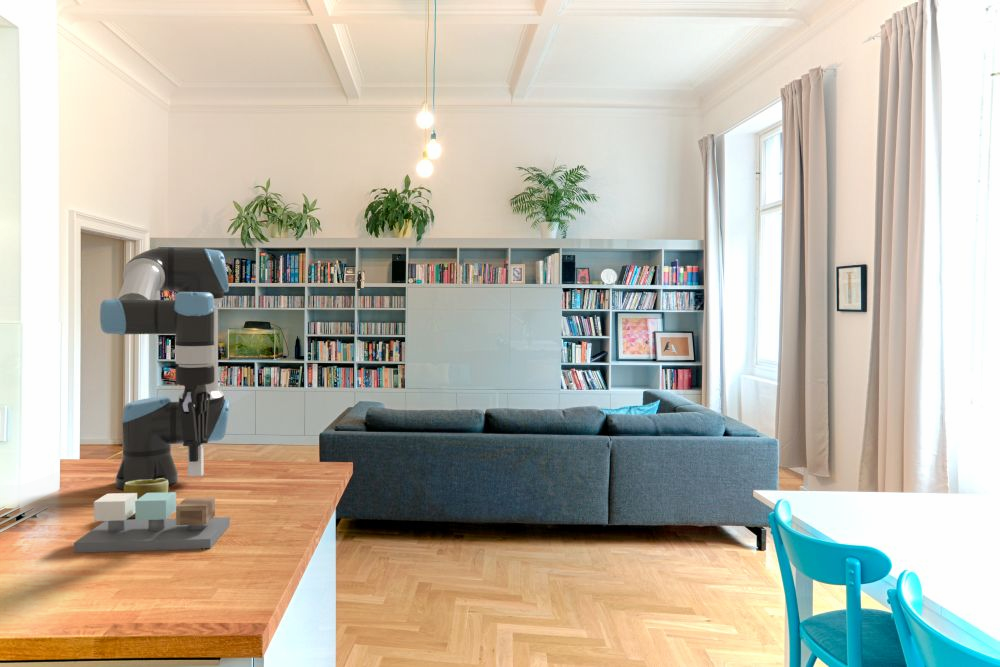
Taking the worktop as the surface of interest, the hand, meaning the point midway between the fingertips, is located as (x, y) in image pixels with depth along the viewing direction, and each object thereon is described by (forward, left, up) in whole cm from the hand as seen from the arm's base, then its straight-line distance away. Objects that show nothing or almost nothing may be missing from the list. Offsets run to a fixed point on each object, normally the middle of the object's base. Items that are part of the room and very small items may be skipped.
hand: (195, 475), depth 142 cm
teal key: (0, -8, -8) cm, 11 cm away
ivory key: (0, -16, -8) cm, 18 cm away
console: (0, -8, -13) cm, 15 cm away
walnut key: (0, 0, -10) cm, 10 cm away
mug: (-18, -16, -14) cm, 27 cm away
